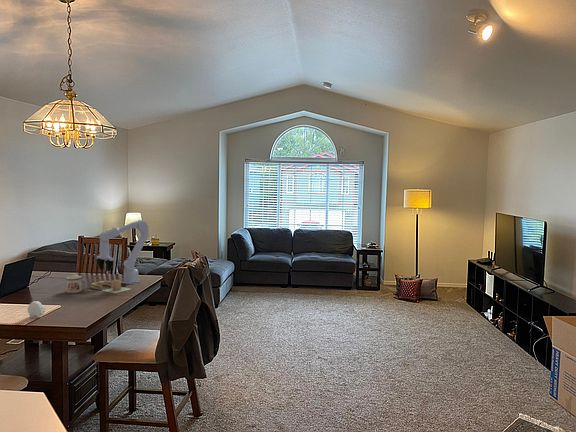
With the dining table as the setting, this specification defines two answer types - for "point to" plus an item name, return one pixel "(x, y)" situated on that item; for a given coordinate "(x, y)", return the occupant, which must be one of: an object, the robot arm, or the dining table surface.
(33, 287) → the dining table surface
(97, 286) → the frame
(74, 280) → the teacup with lid
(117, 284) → the terracotta jug
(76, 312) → the dining table surface
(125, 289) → the felt mat
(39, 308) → the white lumpy piece
